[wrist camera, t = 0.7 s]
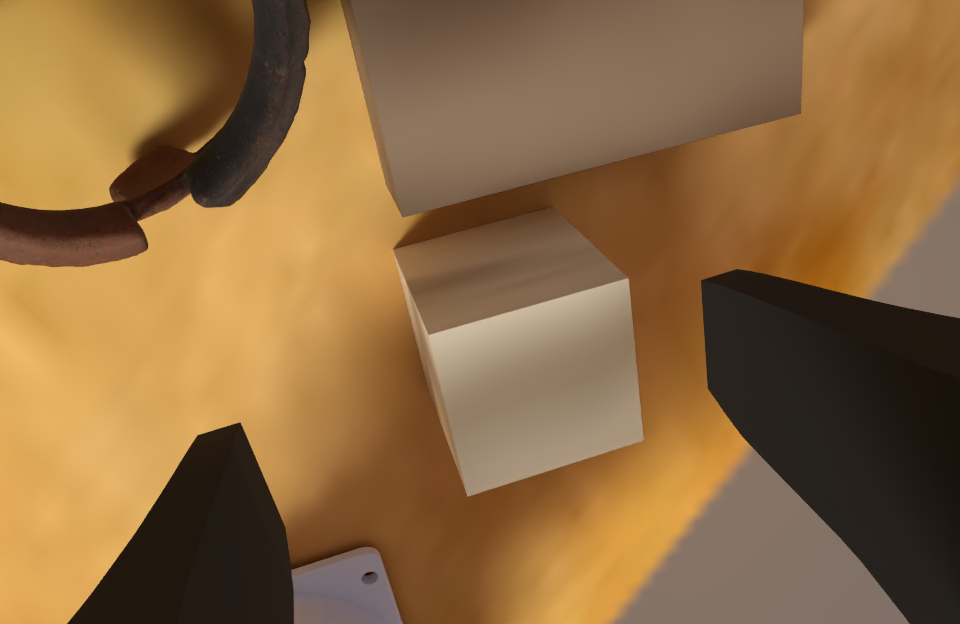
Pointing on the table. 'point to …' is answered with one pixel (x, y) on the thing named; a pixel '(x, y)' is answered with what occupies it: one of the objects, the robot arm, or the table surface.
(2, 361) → the table surface
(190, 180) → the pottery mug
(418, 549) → the table surface
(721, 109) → the grey flat square block
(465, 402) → the maple cube
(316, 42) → the table surface
